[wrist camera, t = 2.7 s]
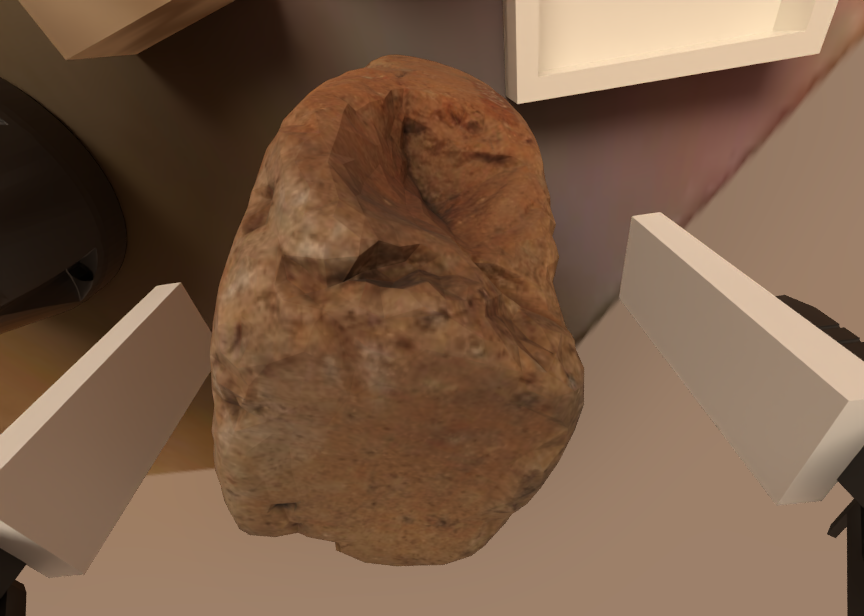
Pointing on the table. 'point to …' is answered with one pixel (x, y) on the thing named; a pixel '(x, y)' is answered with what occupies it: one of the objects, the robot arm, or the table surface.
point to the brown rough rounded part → (393, 322)
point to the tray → (648, 40)
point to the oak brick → (114, 23)
